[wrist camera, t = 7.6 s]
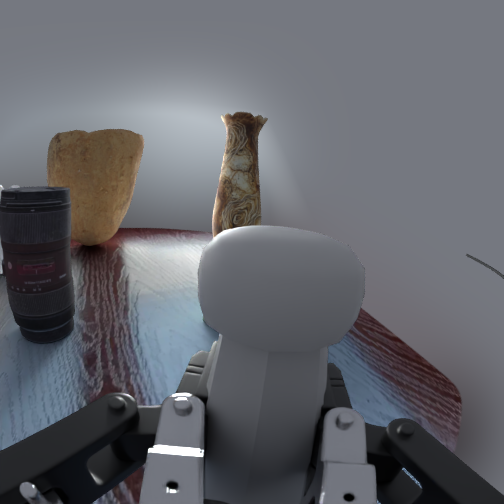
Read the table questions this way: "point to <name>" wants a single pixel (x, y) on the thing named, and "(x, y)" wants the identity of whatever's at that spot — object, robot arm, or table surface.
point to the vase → (239, 175)
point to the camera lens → (38, 260)
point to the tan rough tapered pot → (95, 178)
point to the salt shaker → (271, 354)
